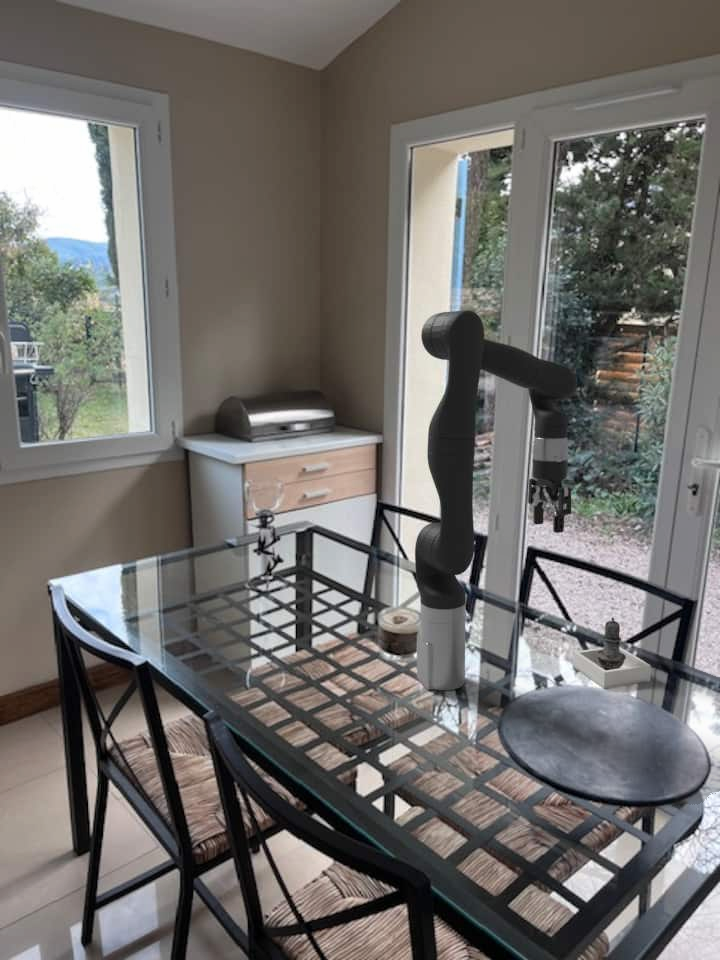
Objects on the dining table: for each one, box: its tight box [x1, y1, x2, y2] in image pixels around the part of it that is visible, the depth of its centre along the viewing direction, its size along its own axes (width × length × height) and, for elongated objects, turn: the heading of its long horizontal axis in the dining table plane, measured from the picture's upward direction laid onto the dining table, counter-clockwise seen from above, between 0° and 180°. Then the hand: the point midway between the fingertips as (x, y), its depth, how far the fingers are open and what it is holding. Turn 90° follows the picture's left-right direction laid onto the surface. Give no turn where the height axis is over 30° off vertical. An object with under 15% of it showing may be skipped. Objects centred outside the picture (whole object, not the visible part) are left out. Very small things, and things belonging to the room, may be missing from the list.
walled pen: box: [572, 646, 652, 689], centre depth 152 cm, size 11×11×4 cm
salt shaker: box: [597, 616, 626, 670], centre depth 151 cm, size 6×6×12 cm
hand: (548, 528), depth 163 cm, fingers open, 8 cm apart
